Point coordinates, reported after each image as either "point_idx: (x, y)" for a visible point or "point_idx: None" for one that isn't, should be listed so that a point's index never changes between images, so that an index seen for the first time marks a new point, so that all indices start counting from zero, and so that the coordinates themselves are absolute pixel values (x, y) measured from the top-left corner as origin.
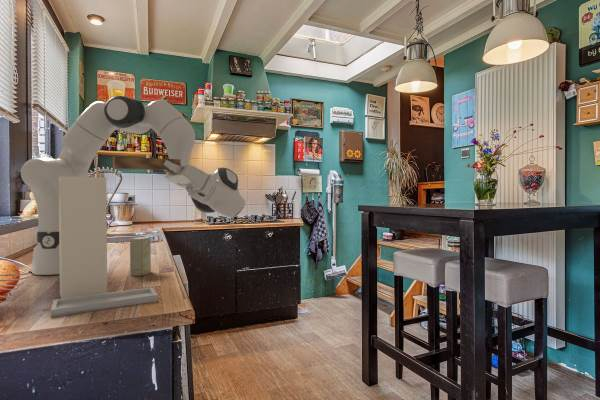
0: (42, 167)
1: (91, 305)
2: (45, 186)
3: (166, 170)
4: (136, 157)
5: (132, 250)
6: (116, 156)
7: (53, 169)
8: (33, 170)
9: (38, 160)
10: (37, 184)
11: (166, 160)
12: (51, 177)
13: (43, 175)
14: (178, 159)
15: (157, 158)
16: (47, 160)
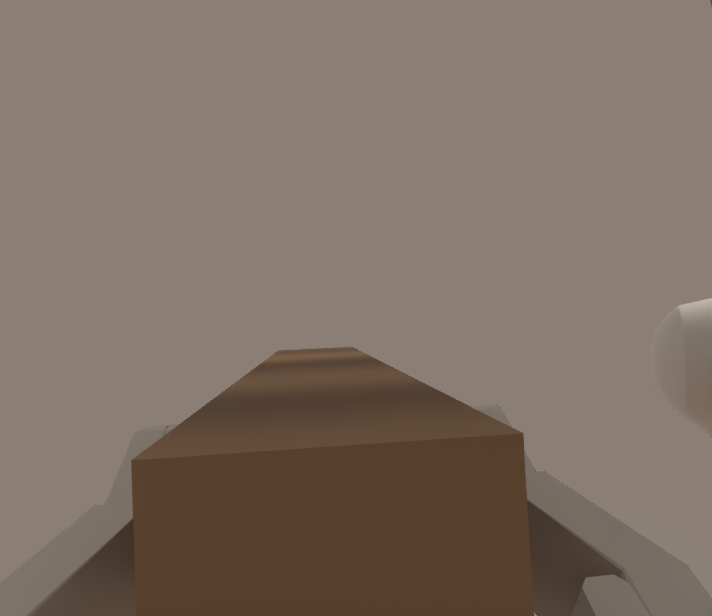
0: (664, 343)
1: None
2: (694, 418)
3: (543, 609)
4: (268, 359)
5: None
6: (277, 351)
7: (702, 350)
8: (651, 353)
9: (672, 313)
10: (671, 406)
11: (138, 432)
12: (692, 385)
13: (665, 375)
14: (149, 448)
15: (244, 377)
16: (704, 310)
